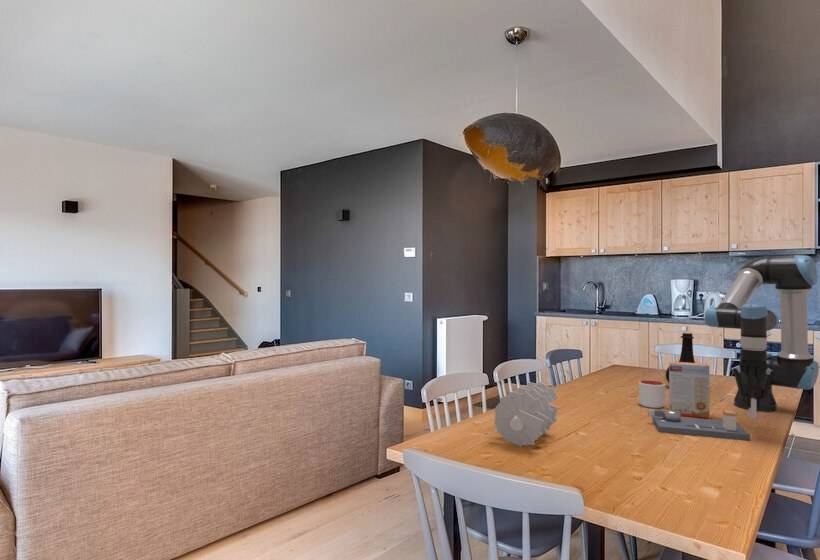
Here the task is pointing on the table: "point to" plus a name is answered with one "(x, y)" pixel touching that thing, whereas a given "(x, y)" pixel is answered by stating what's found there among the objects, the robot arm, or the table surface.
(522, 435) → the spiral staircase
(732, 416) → the block
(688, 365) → the cracker box
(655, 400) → the cup
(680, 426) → the console
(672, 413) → the dial
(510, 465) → the table surface
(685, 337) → the glass bottle
